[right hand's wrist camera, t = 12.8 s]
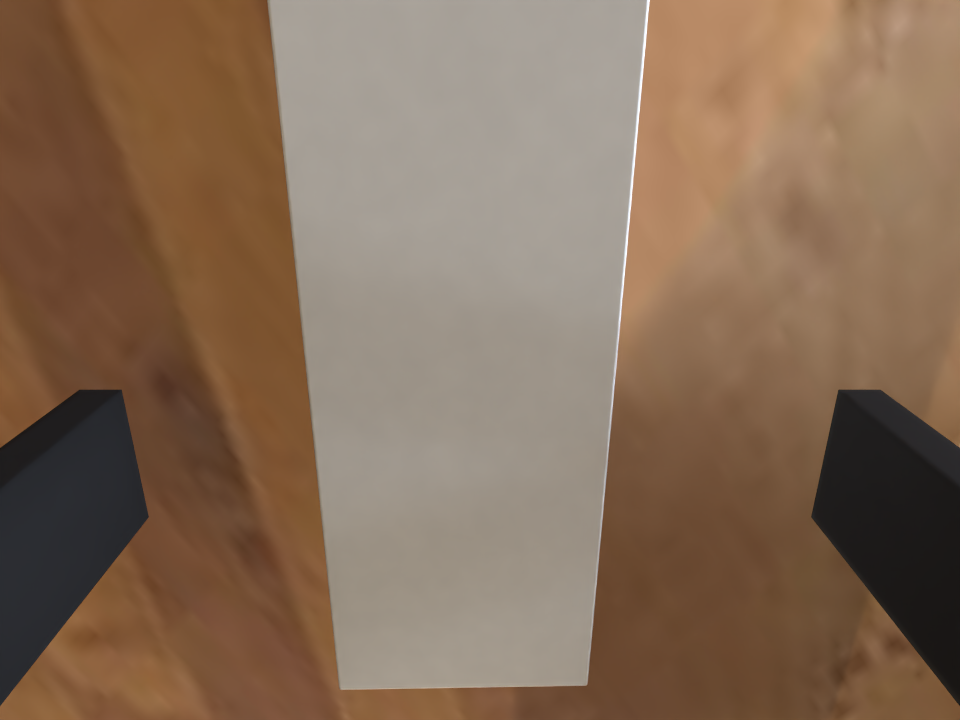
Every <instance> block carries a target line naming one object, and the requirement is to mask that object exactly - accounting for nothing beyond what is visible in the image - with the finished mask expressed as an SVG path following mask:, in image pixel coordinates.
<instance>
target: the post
mask: <svg viewBox="0 0 960 720" xmlns="http://www.w3.org/2000/svg"><path fill="white" fill-rule="evenodd" d="M267 2H268V12H269V21H270V31H271V40H272V50H273V59H274V69H275V78H276V88H277V98H278V107H279V117H280V126H281V136H282V145H283V155H284V164H285V174H286V184H287V193H288V203H289V212H290V222H291V231H292V241H293V250H294V260H295V270H296V279H297V289H298V298H299V308H300V317H301V327H302V336H303V346H304V356H305V365H306V375H307V384H308V394H309V403H310V413H311V423H312V432H313V442H314V451H315V461H316V470H317V480H318V489H319V499H320V509H321V518H322V528H323V537H324V547H325V556H326V566H327V575H328V585H329V595H330V604H331V614H332V623H333V633H334V642H335V652H336V661H337V671H338V681H339V688H340V689H341V690H350V689H410V688H470V687H529V686H585V685H587V683H588V673H589V662H590V651H591V640H592V628H593V617H594V606H595V595H596V584H597V573H598V562H599V551H600V540H601V529H602V518H603V507H604V496H605V485H606V474H607V463H608V452H609V441H610V430H611V419H612V408H613V397H614V386H615V375H616V364H617V353H618V342H619V331H620V319H621V308H622V297H623V286H624V275H625V264H626V253H627V242H628V231H629V220H630V209H631V198H632V187H633V176H634V165H635V154H636V143H637V132H638V121H639V110H640V99H641V88H642V77H643V66H644V55H645V44H646V33H647V22H648V10H649V0H267Z"/></svg>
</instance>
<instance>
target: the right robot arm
mask: <svg viewBox="0 0 960 720" xmlns="http://www.w3.org/2000/svg"><path fill="white" fill-rule="evenodd" d="M148 517H149V516H148V512H147V507H146V502H145V498H144V493H143V488H142V483H141V479H140V474H139V469H138V465H137V460H136V455H135V451H134V446H133V441H132V437H131V432H130V427H129V423H128V418H127V413H126V409H125V404H124V399H123V395H122V390H79V391H77V392H76V393H75V394H73V395H72V396H71V397H69V398H68V399H66V400H65V401H64V402H62V403H61V404H60V405H58V406H57V407H56V408H54V409H53V410H51V411H50V412H49V413H47V414H46V415H45V416H43V417H42V418H41V419H39V420H38V421H36V422H35V423H34V424H32V425H31V426H30V427H28V428H27V429H26V430H24V431H23V432H21V433H20V434H19V435H17V436H16V437H15V438H13V439H12V440H11V441H9V442H8V443H6V444H5V445H4V446H2V447H1V448H0V705H1V704H2V703H3V702H4V700H5V699H6V698H7V697H8V695H9V694H10V693H11V691H12V690H13V689H14V688H15V686H16V685H17V684H18V683H19V681H20V680H21V679H22V677H23V676H24V675H25V674H26V672H27V671H28V670H29V669H30V667H31V666H32V665H33V664H34V662H35V661H36V660H37V658H38V657H39V656H40V655H41V653H42V652H43V651H44V650H45V648H46V647H47V646H48V644H49V643H50V642H51V641H52V639H53V638H54V637H55V636H56V634H57V633H58V632H59V630H60V629H61V628H62V627H63V625H64V624H65V623H66V622H67V620H68V619H69V618H70V616H71V615H72V614H73V613H74V611H75V610H76V609H77V608H78V606H79V605H80V604H81V603H82V601H83V600H84V599H85V597H86V596H87V595H88V594H89V592H90V591H91V590H92V589H93V587H94V586H95V585H96V583H97V582H98V581H99V580H100V578H101V577H102V576H103V575H104V573H105V572H106V571H107V569H108V568H109V567H110V566H111V564H112V563H113V562H114V561H115V559H116V558H117V557H118V555H119V554H120V553H121V552H122V550H123V549H124V548H125V547H126V545H127V544H128V543H129V542H130V540H131V539H132V538H133V536H134V535H135V534H136V533H137V531H138V530H139V529H140V528H141V526H142V525H143V524H144V522H145V521H146V520H147V519H148ZM811 517H812V519H813V520H814V521H815V522H816V524H817V525H818V526H819V528H820V529H821V530H822V531H823V533H824V534H825V535H826V536H827V538H828V539H829V540H830V542H831V543H832V544H833V545H834V547H835V548H836V549H837V550H838V552H839V553H840V554H841V555H842V557H843V558H844V559H845V561H846V562H847V563H848V564H849V566H850V567H851V568H852V569H853V571H854V572H855V573H856V575H857V576H858V577H859V578H860V580H861V581H862V582H863V583H864V585H865V586H866V587H867V589H868V590H869V591H870V592H871V594H872V595H873V596H874V597H875V599H876V600H877V601H878V603H879V604H880V605H881V606H882V608H883V609H884V610H885V611H886V613H887V614H888V615H889V616H890V618H891V619H892V620H893V622H894V623H895V624H896V625H897V627H898V628H899V629H900V630H901V632H902V633H903V634H904V636H905V637H906V638H907V639H908V641H909V642H910V643H911V644H912V646H913V647H914V648H915V650H916V651H917V652H918V653H919V655H920V656H921V657H922V658H923V660H924V661H925V662H926V664H927V665H928V666H929V667H930V669H931V670H932V671H933V672H934V674H935V675H936V676H937V677H938V679H939V680H940V681H941V683H942V684H943V685H944V686H945V688H946V689H947V690H948V691H949V693H950V694H951V695H952V697H953V698H954V699H955V700H956V702H957V703H958V704H959V705H960V448H959V447H958V446H956V445H955V444H954V443H952V442H951V441H949V440H948V439H947V438H945V437H944V436H943V435H941V434H940V433H939V432H937V431H936V430H934V429H933V428H932V427H930V426H929V425H928V424H926V423H925V422H924V421H922V420H921V419H919V418H918V417H917V416H915V415H914V414H913V413H911V412H910V411H909V410H907V409H906V408H904V407H903V406H902V405H900V404H899V403H898V402H896V401H895V400H894V399H892V398H891V397H889V396H888V395H887V394H885V393H884V392H883V391H881V390H838V395H837V399H836V404H835V409H834V413H833V418H832V423H831V427H830V432H829V437H828V441H827V446H826V451H825V455H824V460H823V465H822V469H821V474H820V479H819V484H818V488H817V493H816V498H815V502H814V507H813V512H812V516H811Z"/></svg>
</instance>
